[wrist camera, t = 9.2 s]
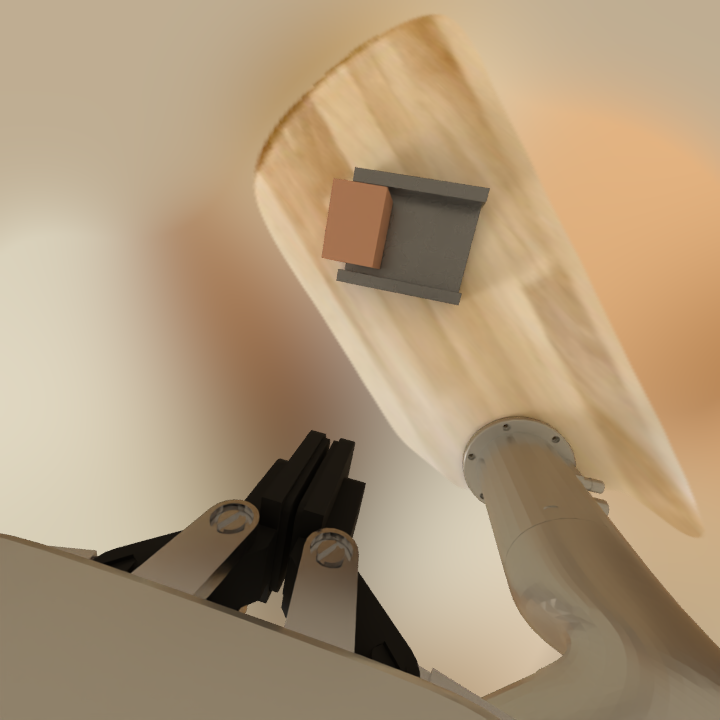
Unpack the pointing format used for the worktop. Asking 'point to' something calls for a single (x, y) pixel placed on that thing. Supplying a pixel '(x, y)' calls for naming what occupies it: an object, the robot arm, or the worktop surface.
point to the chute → (422, 236)
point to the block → (357, 223)
